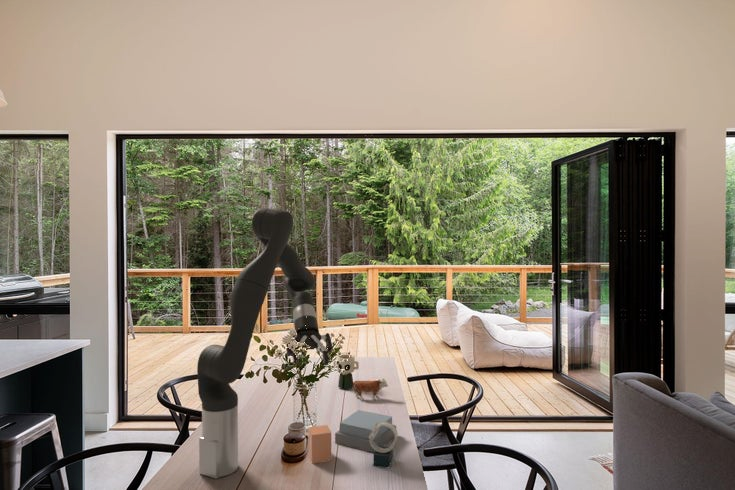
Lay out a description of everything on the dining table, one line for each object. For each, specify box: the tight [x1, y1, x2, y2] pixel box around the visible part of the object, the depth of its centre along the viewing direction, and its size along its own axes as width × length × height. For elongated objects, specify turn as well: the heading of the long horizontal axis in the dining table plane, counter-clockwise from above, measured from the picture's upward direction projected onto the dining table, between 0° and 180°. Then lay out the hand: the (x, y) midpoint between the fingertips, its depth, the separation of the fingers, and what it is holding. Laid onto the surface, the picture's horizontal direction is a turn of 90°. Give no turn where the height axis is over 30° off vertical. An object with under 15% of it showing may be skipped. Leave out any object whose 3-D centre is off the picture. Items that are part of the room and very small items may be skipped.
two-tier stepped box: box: [334, 409, 397, 454], centre depth 147 cm, size 14×14×6 cm
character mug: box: [332, 353, 360, 390], centre depth 195 cm, size 11×7×13 cm, turn 74°
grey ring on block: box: [369, 421, 399, 468], centre depth 132 cm, size 6×8×11 cm
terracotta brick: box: [307, 424, 332, 464], centre depth 134 cm, size 6×6×8 cm
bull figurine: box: [352, 378, 389, 402], centre depth 182 cm, size 4×13×8 cm, turn 89°
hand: (312, 365), depth 145 cm, fingers open, 8 cm apart
